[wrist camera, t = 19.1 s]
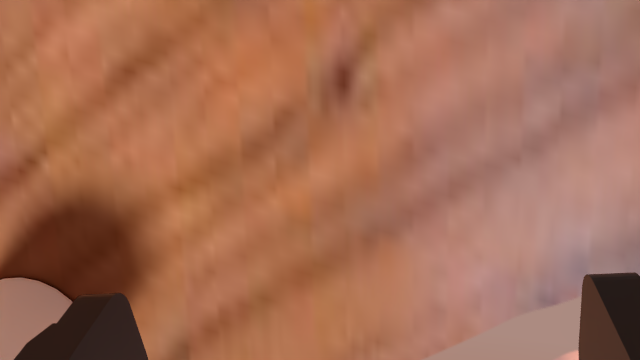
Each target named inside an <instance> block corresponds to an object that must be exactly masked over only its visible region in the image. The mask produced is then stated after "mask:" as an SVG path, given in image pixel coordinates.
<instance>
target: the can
mask: <svg viewBox="0 0 640 360" xmlns="http://www.w3.org/2000/svg"><path fill="white" fill-rule="evenodd" d="M72 303H73V302H72V301H71V300H70V299H69V298H67V297H66V296H65V295H63V294H62V293H61V292H60V291H58V290H57V289H55V288H53V287H51V286H49V285H47V284H44V283H42V282H40V281H36V280H32V279H27V278H22V277H20V278H5V279H2V280H0V360H14V358H15V357H16V356H17V355H18V353H19V352H20V351H21V350H22V348H23V347H24V346H25V345H26V343H28V342H29V341H30V340H31V339H33V338H34V337H35V336H37V335H38V334H39V333H41V332H42V331H43V330H45V329H46V328H47V327H48V326H50V325H51V324H52V323H57V322H58V321H59V319H60V318H61V317H62V316H63V314H64V313H65V312H66V310H67V309H68V308H69V306H70V305H71V304H72Z"/></svg>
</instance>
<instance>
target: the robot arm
mask: <svg viewBox="0 0 640 360" xmlns="http://www.w3.org/2000/svg"><path fill="white" fill-rule="evenodd" d="M14 360H148V357H147V354H146V351H145V348H144V345H143V342H142V339H141V336H140V333H139V330H138V327H137V324H136V321H135V318H134V316H133V313H132V310H131V307H130V304H129V301H128V299H127V298H126V297H125V296H124V295H123V294H121V293H112V294H89V295H80V296H78V297H77V298H76V299H75V300H74V301H73V303H72V304H71V305H70V306H69V308H68V309H67V310H66V312H65V313H64V314H63V316H62V317H61V318H60V319H59V321H58V322H57V323H52V324H51V325H50V326H48V327H47V328H46V329H45V330H43V331H42V332H41V333H39V334H38V335H37V336H35V337H34V338H33V339H31V340H30V341H29V342H28V343H26V345H25V346H24V347H23V348H22V350H21V351H20V352H19V353H18V355H17V356H16V357H15V358H14ZM579 360H640V276H639V275H638V274H637V273H613V274H589V275H585V277H584V280H583V285H582V302H581V317H580V334H579Z"/></svg>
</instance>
